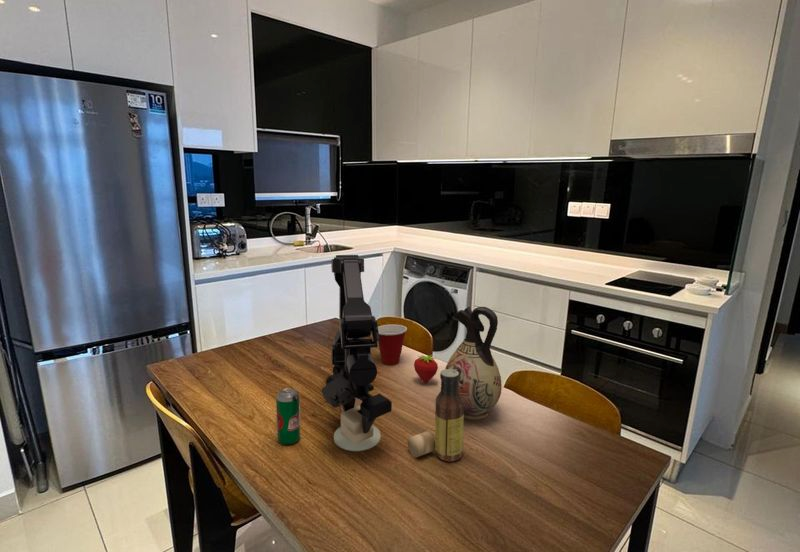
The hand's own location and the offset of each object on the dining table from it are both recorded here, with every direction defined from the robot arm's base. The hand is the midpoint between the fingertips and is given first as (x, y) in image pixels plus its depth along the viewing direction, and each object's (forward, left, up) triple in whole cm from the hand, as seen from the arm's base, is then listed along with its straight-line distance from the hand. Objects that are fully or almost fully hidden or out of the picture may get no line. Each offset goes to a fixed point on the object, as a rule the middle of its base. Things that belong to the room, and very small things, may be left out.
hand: (357, 426), depth 100 cm
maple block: (0, 0, -2) cm, 2 cm away
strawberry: (-32, -10, -3) cm, 34 cm away
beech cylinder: (-5, +14, -1) cm, 15 cm away
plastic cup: (-33, -28, -3) cm, 43 cm away
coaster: (0, 0, -3) cm, 3 cm away
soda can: (+13, -9, -3) cm, 16 cm away
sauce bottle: (-12, +18, -3) cm, 22 cm away
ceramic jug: (-30, +10, -3) cm, 32 cm away
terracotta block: (-6, -11, -3) cm, 13 cm away
